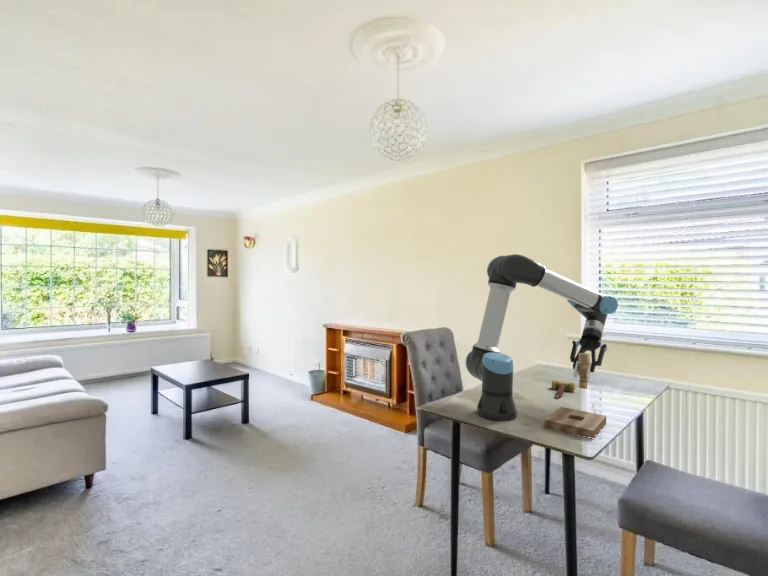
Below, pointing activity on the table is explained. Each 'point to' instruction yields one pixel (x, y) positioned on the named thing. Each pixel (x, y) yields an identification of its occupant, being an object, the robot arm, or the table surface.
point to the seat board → (575, 422)
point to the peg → (583, 369)
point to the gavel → (562, 387)
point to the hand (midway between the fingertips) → (581, 376)
